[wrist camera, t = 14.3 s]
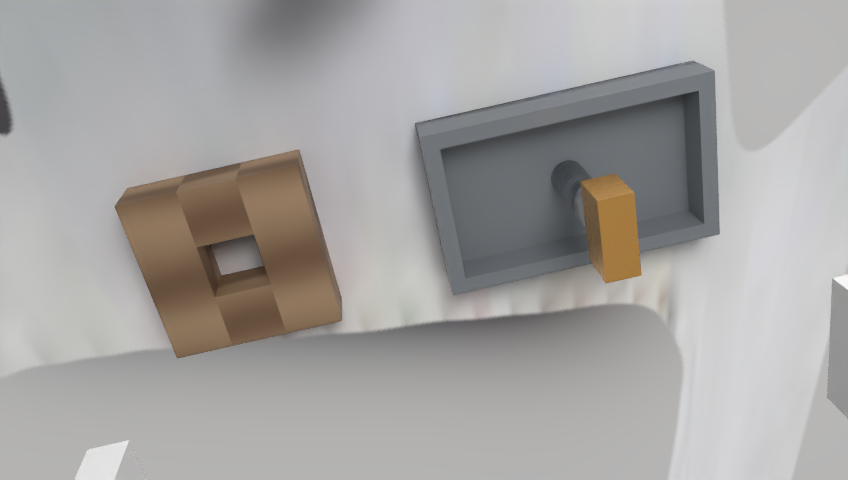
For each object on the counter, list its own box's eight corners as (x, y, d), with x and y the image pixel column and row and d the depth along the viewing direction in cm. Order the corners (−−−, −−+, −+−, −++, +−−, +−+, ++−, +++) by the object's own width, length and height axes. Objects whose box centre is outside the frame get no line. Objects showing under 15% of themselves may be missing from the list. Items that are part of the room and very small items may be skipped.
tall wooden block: (546, 143, 48) (595, 201, 39) (579, 136, 48) (636, 192, 39) (555, 214, 50) (604, 283, 41) (587, 206, 50) (643, 274, 41)
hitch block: (127, 188, 47) (114, 206, 44) (298, 149, 47) (296, 165, 45) (185, 334, 52) (177, 358, 49) (341, 298, 52) (341, 320, 49)
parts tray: (415, 123, 47) (420, 137, 45) (692, 60, 48) (714, 70, 45) (447, 274, 52) (453, 295, 49) (699, 216, 52) (719, 234, 50)
